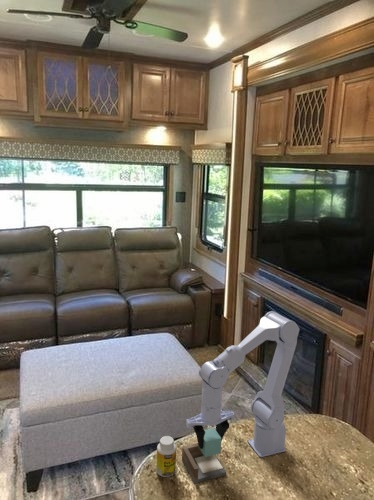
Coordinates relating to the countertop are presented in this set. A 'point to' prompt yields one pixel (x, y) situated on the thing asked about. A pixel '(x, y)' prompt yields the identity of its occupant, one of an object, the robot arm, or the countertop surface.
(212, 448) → the teal block
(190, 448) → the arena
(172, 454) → the supplement bottle
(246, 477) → the countertop surface
